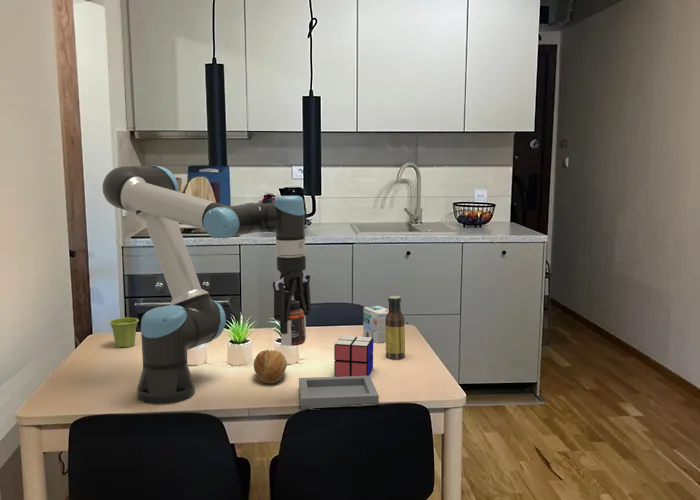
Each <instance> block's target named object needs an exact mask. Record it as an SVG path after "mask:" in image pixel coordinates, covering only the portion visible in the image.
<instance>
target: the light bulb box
mask: <svg viewBox="0 0 700 500" xmlns="http://www.w3.org/2000/svg"><path fill="white" fill-rule="evenodd" d="M388 312H389V308H386V307H383V306H380V305H376V306H375V305H374V306H365V307H363V313H362V314H363V317H362V318H363V320H362V321H363V323H362V326H363V328H362V329H363V330H362V337H372V338H373V343H376V344H382V343H384V344H385V343H386V337H385V321H386V316H387V314H388Z"/></svg>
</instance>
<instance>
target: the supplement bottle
mask: <svg viewBox="0 0 700 500" xmlns="http://www.w3.org/2000/svg"><path fill="white" fill-rule="evenodd" d="M284 317H285V316H284ZM288 321H291V346H292V347H297V346H300V345H303V344H304V343H305V342H306V340H305V327H304V311H303V310H302V309H301V308H300V301H298V300H294V299H291V306H290V313H289V320H288ZM291 346H290V347H291Z"/></svg>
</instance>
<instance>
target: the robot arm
mask: <svg viewBox="0 0 700 500" xmlns="http://www.w3.org/2000/svg"><path fill="white" fill-rule="evenodd" d="M102 194H103V195H104V199H105V200H106V201H107V202H108V203H109V204H110V205H111V206H113V207H115V208H118V209H120V210H125V211H128V212H132V213H133V212H135V214H136V217H137V219H140V220H142V221H144V223H145V226H146V229H147V231H148V234H149V238H150V240H151V243H152V245H153V248H154V252H155V253H156V256H157V259H158V263H159V264H160V265H159V266H160V268H161V271H162V274H163V275H164V280H165V282H166V285H167V287H168V291H169V293H170V295H171V296H170V297H171V298H172V299H171V302H170V304H169V305H164V306H158V307H154V308H152V309H150V310H148V311H146V312H145V313H143V316H142V317H141V326H140V333H141V351H142V352H141V353H142V356H141V357H142V371H141V373H140V378H139V381H138V385H137V389H136V393H137V394H136V397H137V399H138V400H139V401H141V402H144V403H146V404H156V405H159V404H160V405H164V404H165V405H166V404H171V403H178V402H182V401H185V400H187V399H189V398H191V397H192V396H194V394H195V393H196V389H195V387H196V386H195V385H196V384H195V381H194V379H193V378H194V377H193V376H192V373H191V371H190V368H189V365H188V350H192V349H193V348H196V347H199V346H202V345H206V344H208V343H211V342H212V341H214V340H216V339H217V338H218V337H220V336H221V334H223V331H224V328H225V327H226V312H225V310H224V309H223V306H222V305H221V303H218V301H216V300H213V299H212V298H211V295H210V293H209V291H207V290H205V289H202V286H201V283H200V281H199V278H198V275H197V273H196V270H195V267H194V264H193V262H192V259H191V256H190V253H189V251H188V248H187V245H186V242H185V240H184V236H183V234H182V232H181V228H180V226H179V223H180V224H183V225H186V226H190V227H193V228H196V229H199V230H203V231H205V233H207V234H208V235H209V237H211V238H214V239H227V238H228V239H230V238H231V237H237V236H242V235H248V234H253V233H275V253H276V255H277V257H276V270H277V271H278V272H279V273H280V276H279V280H277V281H273V282H272V289H273V319H274V321H276V322H277V321H278V322H279V327H280V328H279V329H280V331H279V332H280V343H281V345H282V346H287V347H291V321H288V320H289V313H290V306H291V300H298V301H300V308H301V309H302V310H303V311H304V327H305V341H306V340H307V329H306V328H307V327H306V326H307V316H309V315H310V314H311V313H310V312H311V310H312V304H311V291H310V290H311V289H310V281H311V275H310V274H304V272H303V271H305V270H306V268H307V263H306V262H307V261H306V260H307V257H306V256H305V254H306V238H305V237H306V236H305V234H306V233H305V215H306V212H305V205H304V199H303V197H302V196H300V195H280V196H279V195H278V196H276V197H275V198H274V203H259V202H258V203H257V202H256V203H255V202H247V203H246V202H245V203H240V204H237V205H231V206H230V205H226V204H222V203H218V202H215V201H212V200H208V199H205V198H201V197H198V196H195V195H190V194H187V193H185V192H184V193H183V192H180V191H179V184H178V180H177V178H176V176H175V175H174V174H173V172H172V171H170V170H169V169H167V168H166V167H163V166H159V165H151V164H149V165H140V166H139V165H134V166H130V165H129V166H127V165H126V166H118V167H115V168H113V169H111V170H110V172H108V173H107V174H106V175H105V177H104V180H103V182H102ZM292 298H293V299H292ZM284 316H285V317H284Z"/></svg>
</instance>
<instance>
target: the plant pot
mask: <svg viewBox="0 0 700 500" xmlns="http://www.w3.org/2000/svg"><path fill="white" fill-rule="evenodd" d="M139 321H140V320H139V318H136V317H122V318H121V317H120V318H115V319H114V318H113V319H112V320H110V321H109V322H108V323H109V325H110V326H111V327H110V328H111V329H112V335H113V337H114V343H115V347H117V348H131V347H134V345H135V344H136V333H137V326H138V323H139Z"/></svg>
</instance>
